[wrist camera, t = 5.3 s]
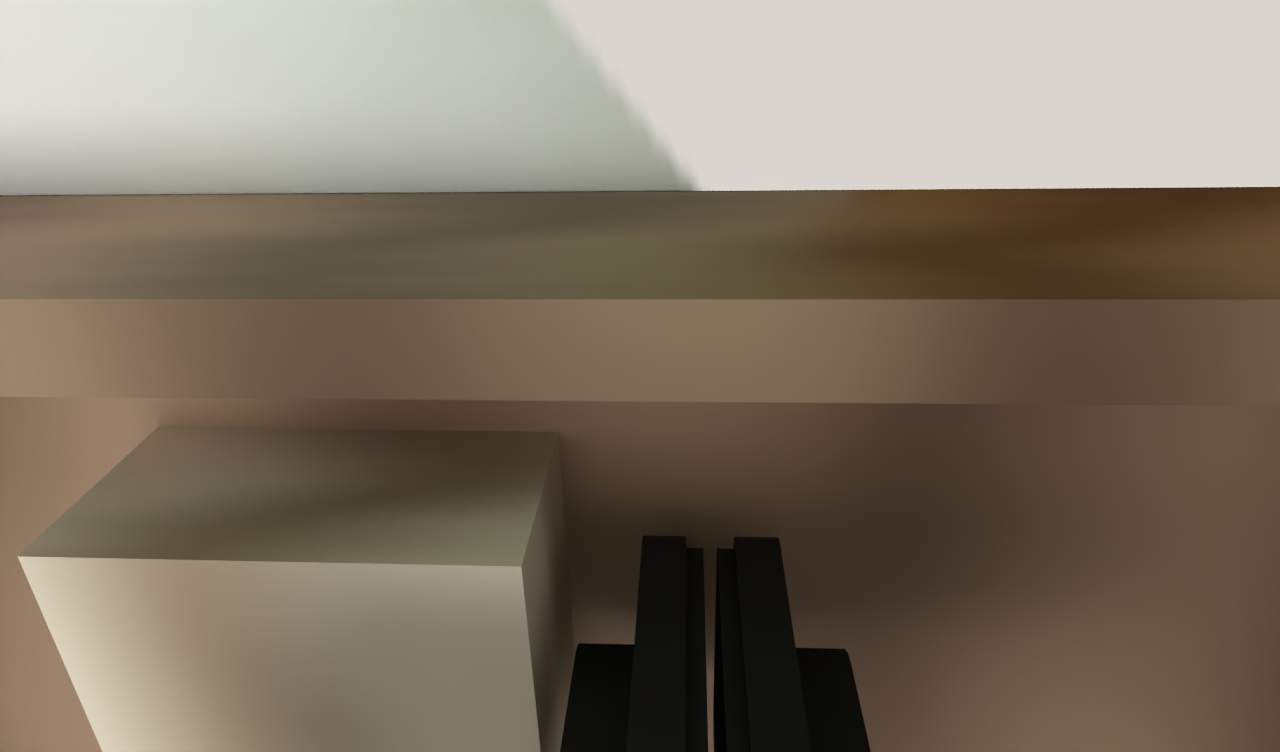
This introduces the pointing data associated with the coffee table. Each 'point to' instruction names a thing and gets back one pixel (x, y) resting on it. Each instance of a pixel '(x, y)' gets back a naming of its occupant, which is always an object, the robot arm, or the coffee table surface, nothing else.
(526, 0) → the coffee table surface
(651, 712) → the robot arm
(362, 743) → the block
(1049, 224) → the box
